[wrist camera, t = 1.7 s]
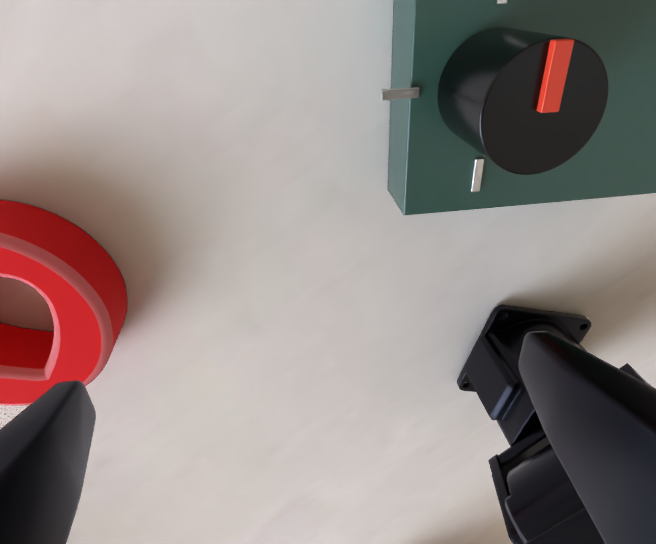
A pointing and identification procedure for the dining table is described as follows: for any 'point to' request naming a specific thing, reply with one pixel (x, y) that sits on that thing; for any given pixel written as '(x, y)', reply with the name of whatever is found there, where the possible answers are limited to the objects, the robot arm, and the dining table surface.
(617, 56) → the control box
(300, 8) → the dining table surface
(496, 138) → the hob knob
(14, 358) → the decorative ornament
